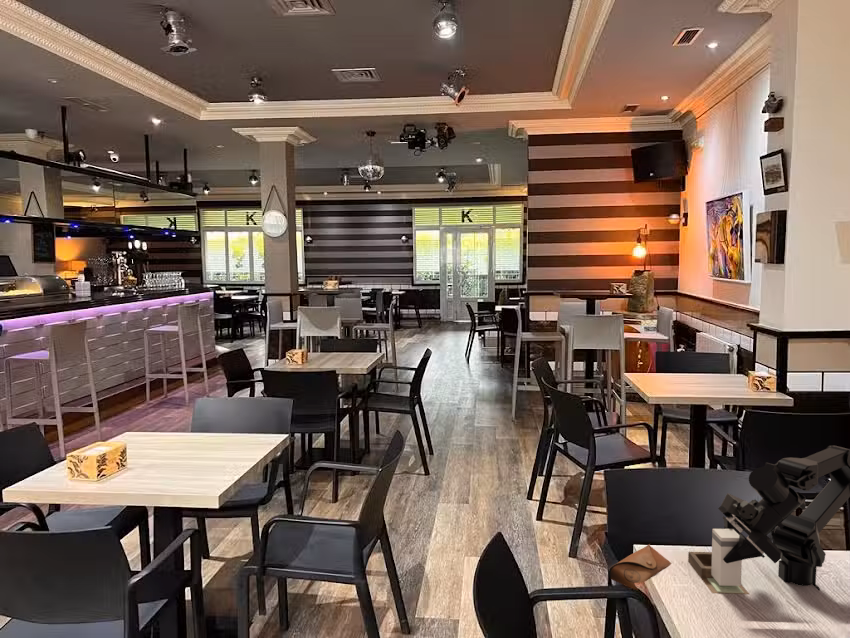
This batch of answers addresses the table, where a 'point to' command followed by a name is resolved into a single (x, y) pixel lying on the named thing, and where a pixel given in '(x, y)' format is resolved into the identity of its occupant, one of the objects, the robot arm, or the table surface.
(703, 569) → the brown wooden tray
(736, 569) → the cream square block
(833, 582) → the table surface
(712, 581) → the green mat
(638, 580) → the sunglasses case
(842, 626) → the table surface
